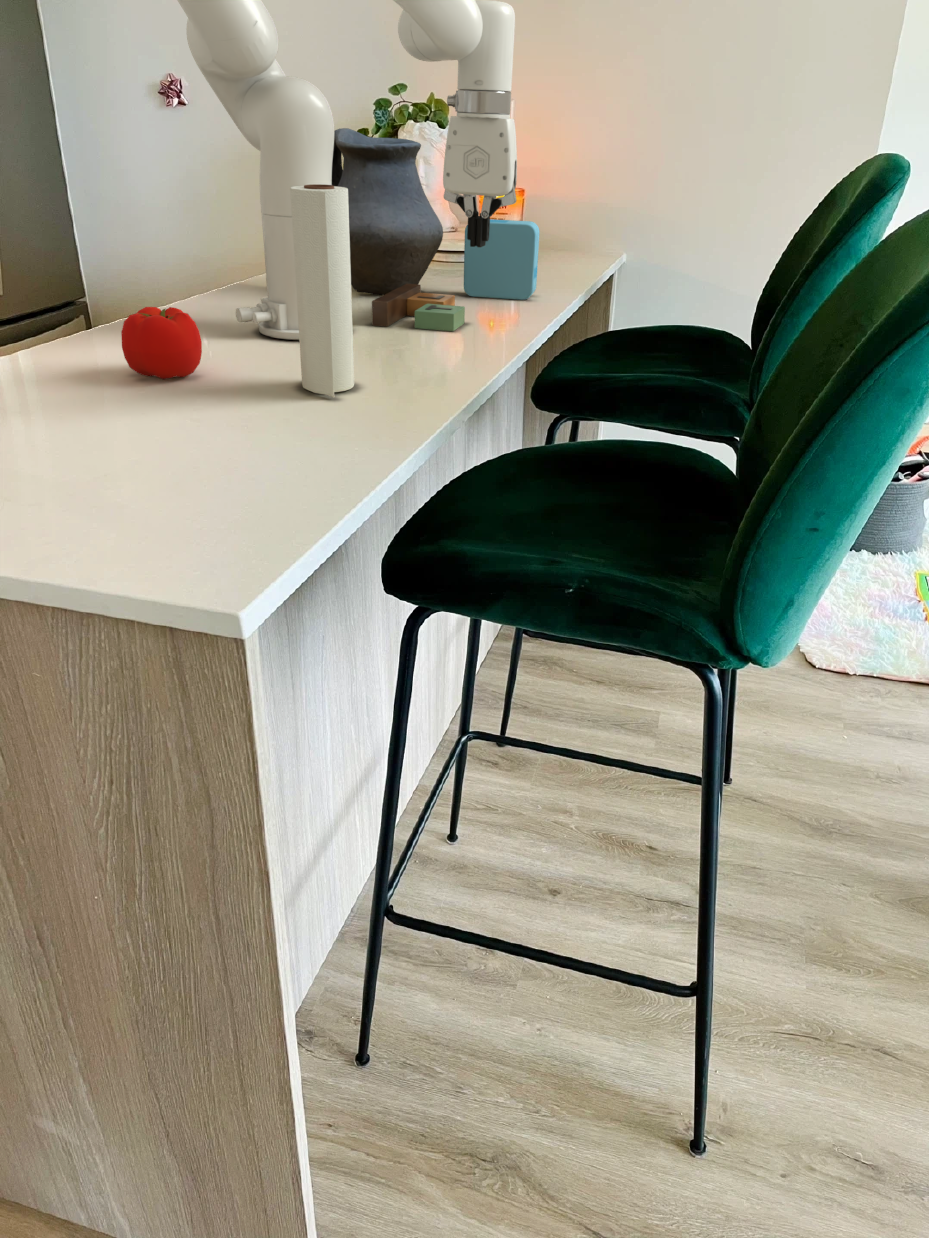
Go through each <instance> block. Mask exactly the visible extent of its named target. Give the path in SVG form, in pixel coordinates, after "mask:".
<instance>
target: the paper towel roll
mask: <svg viewBox="0 0 929 1238" xmlns="http://www.w3.org/2000/svg"><path fill="white" fill-rule="evenodd" d="M290 190H291V206H292V223H293V240H294V257H295V274H296V291H297V307H298V324H299V340H298V341H299V356H300V374H301V375H300V376H301V385H302V388H303V389H305V390H307V391H310V392H312V393H314V394H319V395H325V396H329V397H332V398H335V397H336V396H335V393H339V392H345V391H348V390H351V389H352V388H353V387H354V386H355V366H354V365H355V364H354V363H355V361H354V336H353V335H354V333H353V331H354V330H353V301H352V298H353V297H352V285H351V267H350V236H349V205H348V189H347V188H345V187H336V186H333V185H321V184H312V185H304V186H295V187H291V188H290Z"/></svg>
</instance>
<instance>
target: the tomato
mask: <svg viewBox="0 0 929 1238" xmlns="http://www.w3.org/2000/svg"><path fill="white" fill-rule="evenodd" d="M120 332H121V336H120V337H121V349H122V352H123V357H124V359H125V361H126V363H127V365H128V366H129V368H130V369H131V370H132V371H134V373H137V374H140V375H142V376H146V377H156V378H159V379H161V380H169V379H172V378H180V379H181V378H182V379H183V378H185V377H188V376H190V375H192V374H193V373H194V372H195V371H196V369H197V368H198V367H199V365H200V363H201V359H202V353H203V350H202V349H203V343H202V337H201V332H200V330H199V327H198V325H197V323H196V321H195V320H194V319H193V318H192V317H191V315H189V313H187V312H184V311H183V310H182V309H180V308H177V307H172V306H169V307H167V308H163V309H160V308H159V307H157V306H144V307H143V308H141V309H139V310H138V311H137V312H135V313H133V314H129V315H128V317H127V318H126V319H125V320H124V321H123V324H122V328H121V331H120Z"/></svg>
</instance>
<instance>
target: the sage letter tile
mask: <svg viewBox="0 0 929 1238" xmlns="http://www.w3.org/2000/svg"><path fill="white" fill-rule="evenodd" d="M465 311H466V307H465V305H455V306H451V305H439V304H426V305H424V306H422V307H420V308H419V309H417V310H415V316H414V329H422V330H432V331H442V332H443V331H444V332H455V331H456V330H458V329H459V328H460V327H462V326H463V325H464V324H465V319H466V318H465V315H466V312H465Z"/></svg>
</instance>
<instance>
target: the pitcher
mask: <svg viewBox="0 0 929 1238" xmlns="http://www.w3.org/2000/svg"><path fill="white" fill-rule="evenodd" d="M421 148H422V144H421V143H420V142H418V141H414V140H411V139H407V138H395V137H394V138H393V137H372V136H367V135H365V134H364V133H360V132H358V131H356V130H354V129H351V128H348V127H347V128H346V127H343V128H342V127H341V128H337V129H334V149H333V160H332V185H333V186H336V187H345V188H347V189H348V205H349V236H350V267H351V288H353V289H354V290H355V291H356V292H357V293H365V294H370V295H375V296H378V295H379V296H383V295H385V294H387V293H389V292H391V291H393V290H395V289H397V288H399V287H401V286H403V285H405V284H419V285H420V281H421V280H422V278H423V277H424V275H425V274H426V271H427V270H428V269H429V266H430V264H431V263H432V261H433V259H434V258H435V256H436V255H437V252H438V250H439V248H440V247H441V244H442V242H443V237H444V227H443V225H442V222H441V221H440V219H439V217H438V215H437V214H436V212H435V210H434V209H433V207H432V205H431V203H430V201H429V199H428V197H427V195H426V193H425V190H424V188H423V186H422V185H423V184H422V181H421V178H420V175H419V171H418V168H417V164H416V160H417V156H418V153H419V151H420V150H421ZM342 158H343V159H342Z"/></svg>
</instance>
